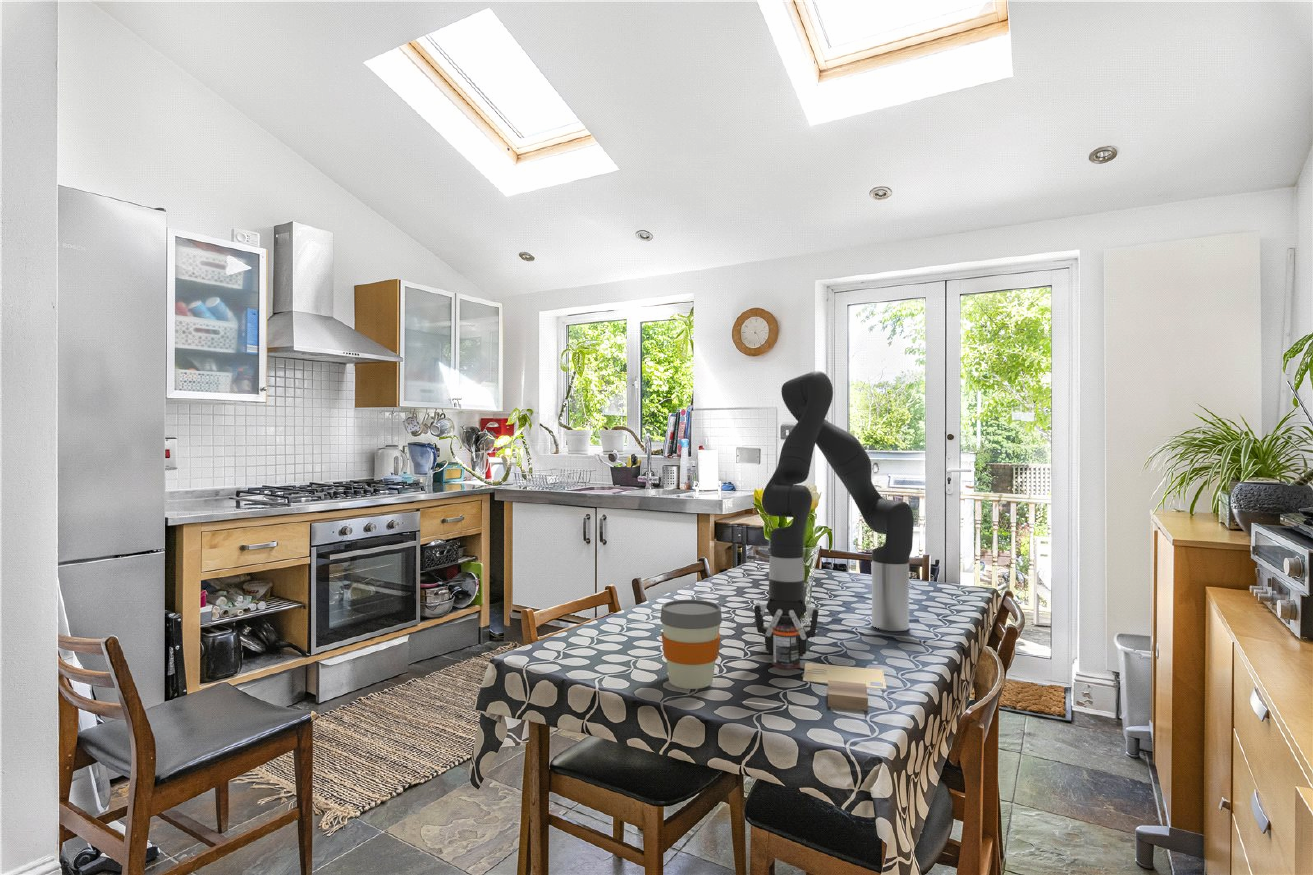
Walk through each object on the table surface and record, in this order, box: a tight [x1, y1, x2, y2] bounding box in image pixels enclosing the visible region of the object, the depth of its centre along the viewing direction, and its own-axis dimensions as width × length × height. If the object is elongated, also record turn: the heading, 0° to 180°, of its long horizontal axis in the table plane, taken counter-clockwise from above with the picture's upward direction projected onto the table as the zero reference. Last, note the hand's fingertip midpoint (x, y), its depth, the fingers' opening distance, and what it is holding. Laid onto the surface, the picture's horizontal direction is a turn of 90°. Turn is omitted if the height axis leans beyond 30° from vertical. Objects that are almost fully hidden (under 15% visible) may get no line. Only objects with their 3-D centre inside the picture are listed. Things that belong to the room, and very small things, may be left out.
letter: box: [802, 662, 887, 690], centre depth 136 cm, size 11×16×1 cm
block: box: [827, 680, 869, 712], centre depth 123 cm, size 7×7×3 cm
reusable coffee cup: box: [660, 599, 723, 690], centre depth 134 cm, size 12×13×15 cm
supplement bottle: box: [771, 615, 801, 670], centre depth 142 cm, size 6×6×11 cm
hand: (786, 654), depth 142 cm, fingers closed on supplement bottle, 6 cm apart
